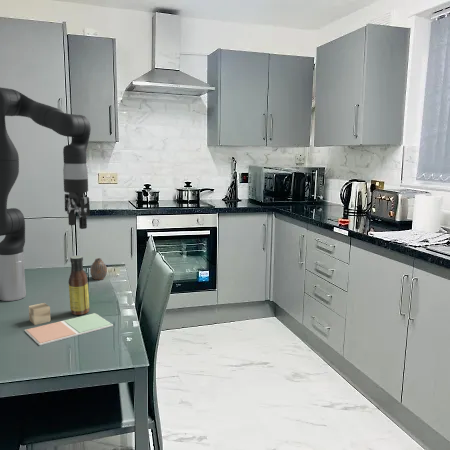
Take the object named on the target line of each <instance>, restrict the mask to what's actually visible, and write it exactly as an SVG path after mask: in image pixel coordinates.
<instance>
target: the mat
mask: <svg viewBox="0 0 450 450" xmlns="http://www.w3.org/2000/svg"><path fill="white" fill-rule="evenodd" d="M111 327H114V324H113V323H111V322H110V321H108V320H107V319H105V318H104V317H102V316H101V315H99V314H98V313H95V312H93V313H90V314H84V315H80V316H77V317H73V318H69V319H64V320H61V321H57V322H52V323H47V324H44V325H39V326H34V327H31V328H27V329H24V332H25V333H26V334H27V335H28V336H29V337H30V338H31V339H32V340H33V341H34V342H35V343H36V344H37V345H38V346H43V345H48V344H51V343H55V342H59V341H62V340H65V339H70V338H74V337H77V336H81V335H85V334H88V333H92V332H96V331H99V330H100V331H101V330H103V329H107V328H111Z"/></svg>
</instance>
